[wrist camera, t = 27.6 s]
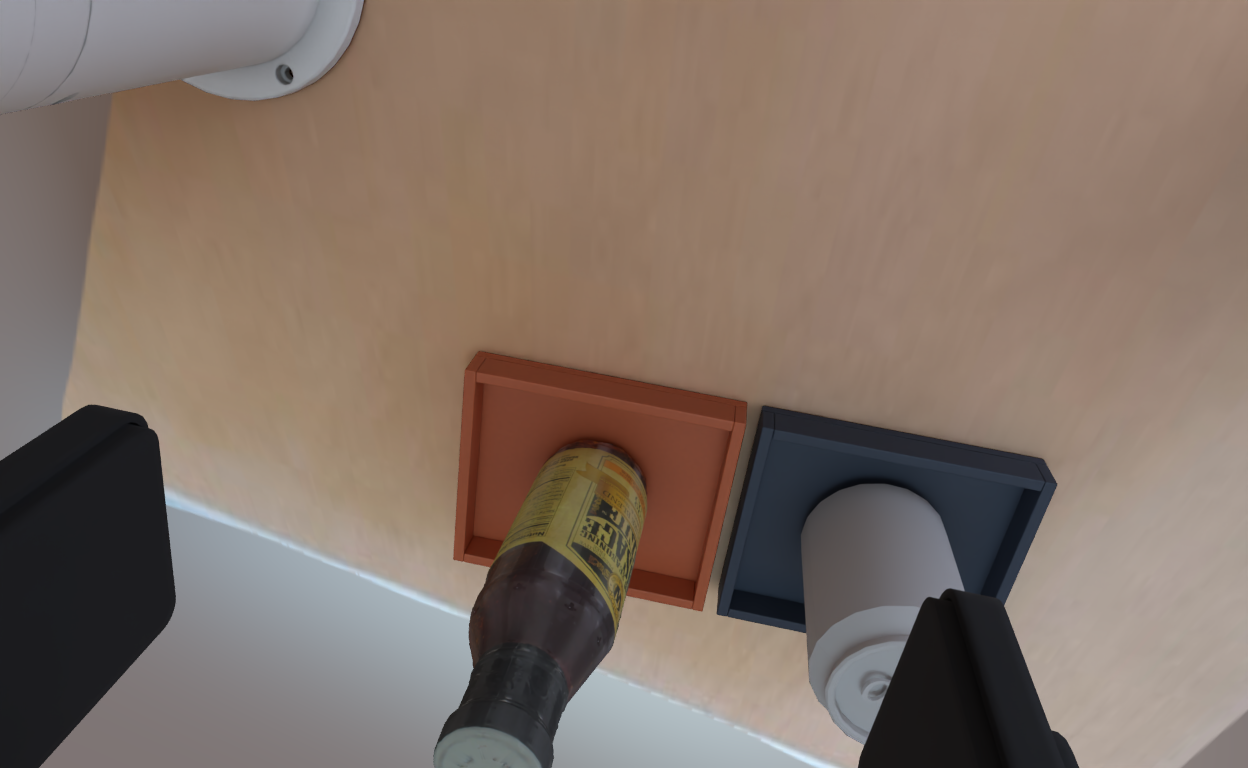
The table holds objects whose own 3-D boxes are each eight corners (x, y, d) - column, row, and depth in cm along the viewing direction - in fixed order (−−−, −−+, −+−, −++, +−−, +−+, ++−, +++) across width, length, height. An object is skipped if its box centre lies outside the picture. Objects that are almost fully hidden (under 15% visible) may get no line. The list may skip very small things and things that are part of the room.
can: (900, 607, 48) (939, 790, 37) (776, 558, 48) (780, 728, 37) (971, 506, 45) (1035, 676, 34) (838, 453, 44) (861, 607, 34)
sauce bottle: (662, 522, 48) (602, 847, 30) (556, 533, 49) (439, 850, 32) (636, 419, 45) (554, 709, 28) (525, 434, 47) (380, 719, 29)
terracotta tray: (465, 535, 51) (453, 560, 49) (478, 350, 46) (464, 369, 43) (704, 584, 50) (702, 611, 48) (747, 402, 45) (746, 424, 42)
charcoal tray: (718, 587, 50) (716, 614, 48) (762, 405, 45) (762, 427, 42) (967, 638, 49) (976, 669, 47) (1043, 458, 44) (1058, 484, 41)
